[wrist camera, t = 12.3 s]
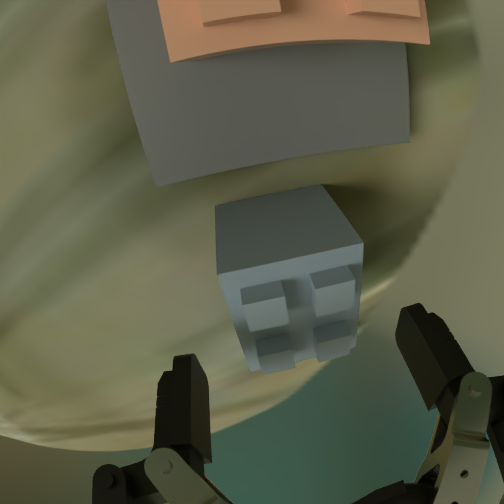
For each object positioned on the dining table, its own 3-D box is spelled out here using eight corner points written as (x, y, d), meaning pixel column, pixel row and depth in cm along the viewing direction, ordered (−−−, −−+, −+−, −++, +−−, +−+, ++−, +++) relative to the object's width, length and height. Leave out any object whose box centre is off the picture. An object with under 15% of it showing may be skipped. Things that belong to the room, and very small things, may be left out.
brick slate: (215, 205, 14) (217, 291, 10) (320, 183, 14) (372, 256, 9) (240, 297, 18) (252, 385, 13) (326, 279, 18) (360, 360, 13)
